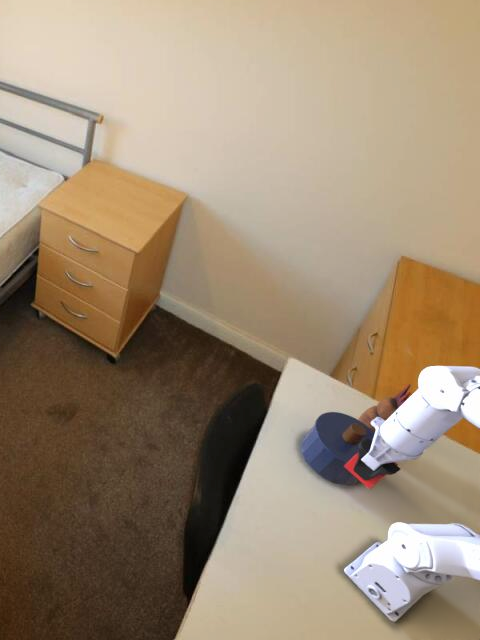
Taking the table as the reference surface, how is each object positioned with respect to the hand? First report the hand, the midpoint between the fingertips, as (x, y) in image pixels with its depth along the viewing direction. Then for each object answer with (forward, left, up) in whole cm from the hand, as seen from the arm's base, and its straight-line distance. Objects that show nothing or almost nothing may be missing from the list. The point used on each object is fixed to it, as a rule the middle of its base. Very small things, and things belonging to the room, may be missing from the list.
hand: (368, 467), depth 86 cm
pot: (+5, +5, -9) cm, 12 cm away
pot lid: (+5, +5, -3) cm, 8 cm away
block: (0, 0, -1) cm, 1 cm away
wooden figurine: (+15, +5, -10) cm, 19 cm away
